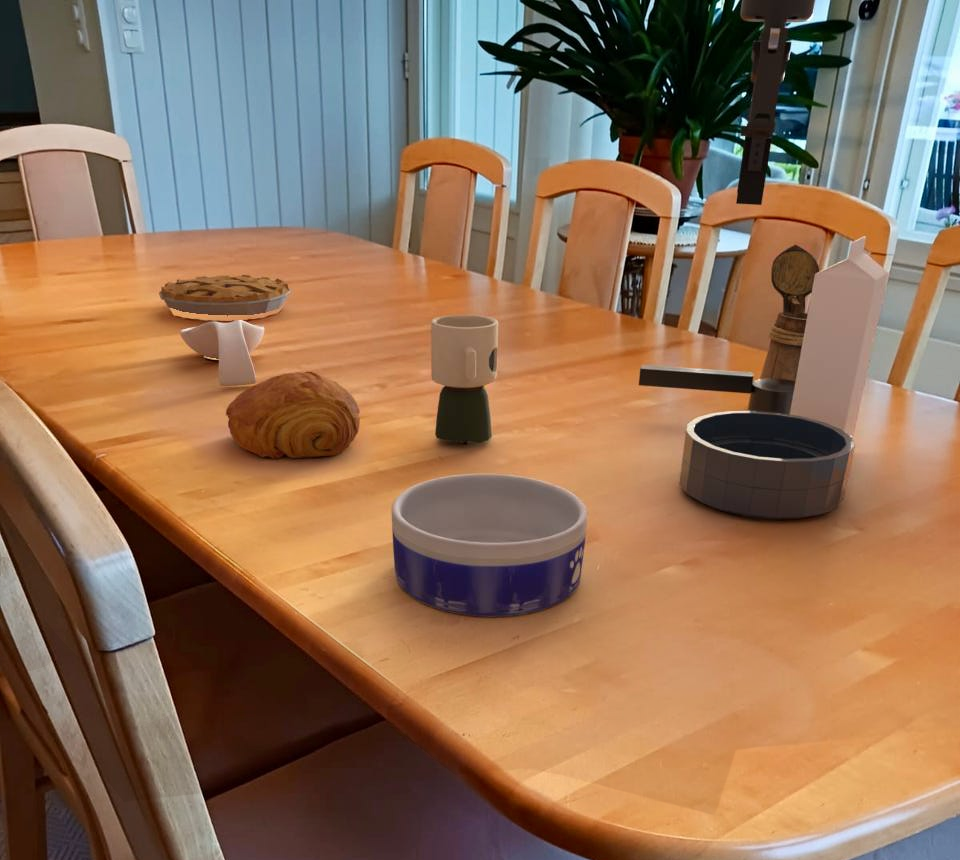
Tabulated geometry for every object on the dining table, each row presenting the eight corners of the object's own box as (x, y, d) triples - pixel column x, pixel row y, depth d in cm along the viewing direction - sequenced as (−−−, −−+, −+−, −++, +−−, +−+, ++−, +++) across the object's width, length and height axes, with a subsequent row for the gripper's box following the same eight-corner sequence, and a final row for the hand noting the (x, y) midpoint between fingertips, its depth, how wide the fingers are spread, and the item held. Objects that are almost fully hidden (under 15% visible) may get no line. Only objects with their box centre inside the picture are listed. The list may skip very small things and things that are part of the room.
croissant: (353, 435, 116) (351, 366, 113) (367, 460, 102) (365, 381, 99) (229, 438, 113) (224, 367, 110) (226, 463, 99) (219, 383, 96)
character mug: (503, 455, 104) (507, 331, 98) (437, 457, 103) (437, 332, 97) (486, 425, 114) (489, 310, 107) (426, 426, 113) (425, 310, 106)
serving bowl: (833, 474, 101) (845, 417, 98) (849, 531, 88) (863, 468, 85) (682, 460, 104) (689, 405, 101) (675, 514, 91) (683, 452, 88)
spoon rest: (179, 349, 143) (173, 298, 140) (260, 344, 147) (255, 295, 143) (194, 391, 124) (187, 333, 120) (286, 385, 127) (282, 328, 124)
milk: (850, 451, 108) (898, 238, 97) (836, 466, 103) (885, 245, 93) (796, 441, 111) (836, 233, 100) (780, 455, 106) (821, 239, 95)
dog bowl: (441, 525, 87) (441, 461, 84) (605, 555, 82) (611, 488, 79) (359, 595, 75) (355, 523, 72) (546, 636, 70) (550, 560, 67)
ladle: (796, 421, 117) (805, 371, 114) (799, 436, 112) (808, 384, 109) (638, 409, 121) (642, 360, 118) (633, 423, 116) (638, 372, 113)
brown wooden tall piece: (805, 387, 131) (831, 245, 122) (834, 417, 119) (865, 261, 110) (738, 386, 131) (760, 243, 122) (761, 415, 119) (786, 259, 110)
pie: (310, 303, 175) (308, 273, 173) (259, 327, 157) (256, 295, 154) (199, 295, 179) (196, 267, 177) (137, 319, 161) (132, 287, 158)
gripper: (745, -14, 113) (718, 187, 123) (745, -38, 92) (712, 207, 102) (812, -13, 111) (778, 190, 122) (827, -37, 90) (785, 211, 101)
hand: (748, 198), depth 112 cm, fingers open, 13 cm apart
